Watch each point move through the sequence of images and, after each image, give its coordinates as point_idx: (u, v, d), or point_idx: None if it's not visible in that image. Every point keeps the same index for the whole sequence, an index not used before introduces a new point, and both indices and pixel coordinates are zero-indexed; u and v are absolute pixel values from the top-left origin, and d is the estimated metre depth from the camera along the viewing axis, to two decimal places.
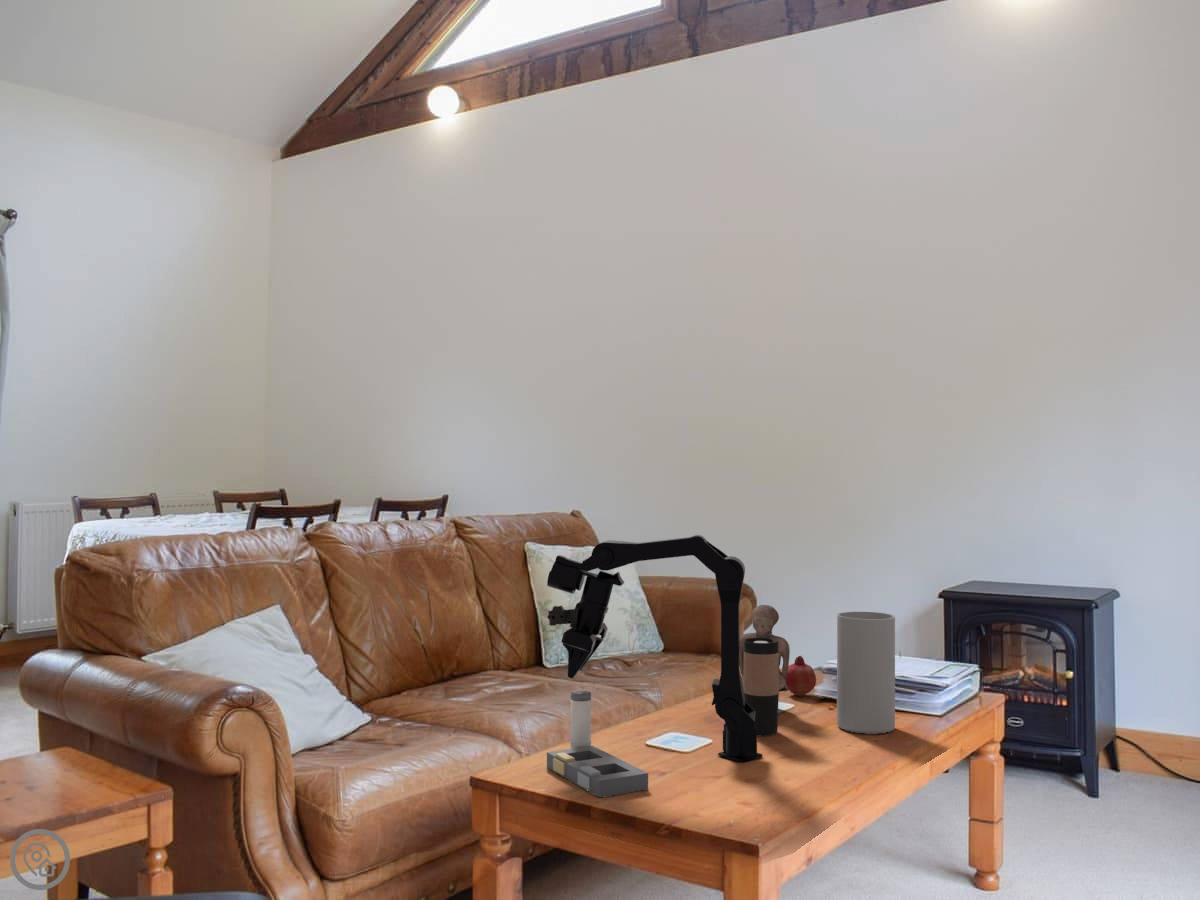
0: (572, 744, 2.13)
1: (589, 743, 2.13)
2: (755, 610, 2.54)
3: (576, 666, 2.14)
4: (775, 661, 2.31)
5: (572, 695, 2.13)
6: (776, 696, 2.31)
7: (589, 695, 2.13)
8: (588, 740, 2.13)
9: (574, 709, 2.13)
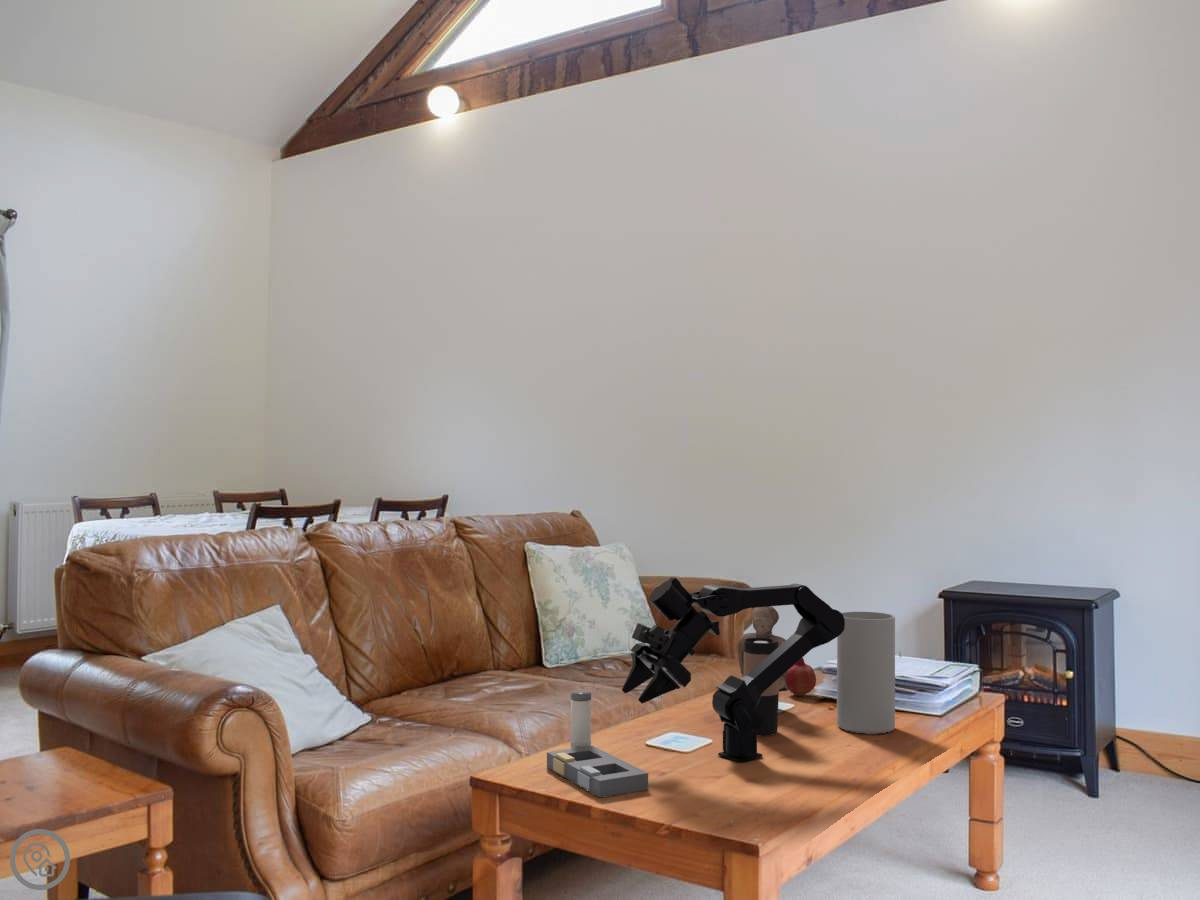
0: (572, 744, 2.13)
1: (589, 743, 2.13)
2: (755, 610, 2.54)
3: (654, 694, 2.02)
4: None
5: (572, 695, 2.13)
6: (776, 696, 2.31)
7: (589, 695, 2.13)
8: (588, 740, 2.13)
9: (574, 709, 2.13)
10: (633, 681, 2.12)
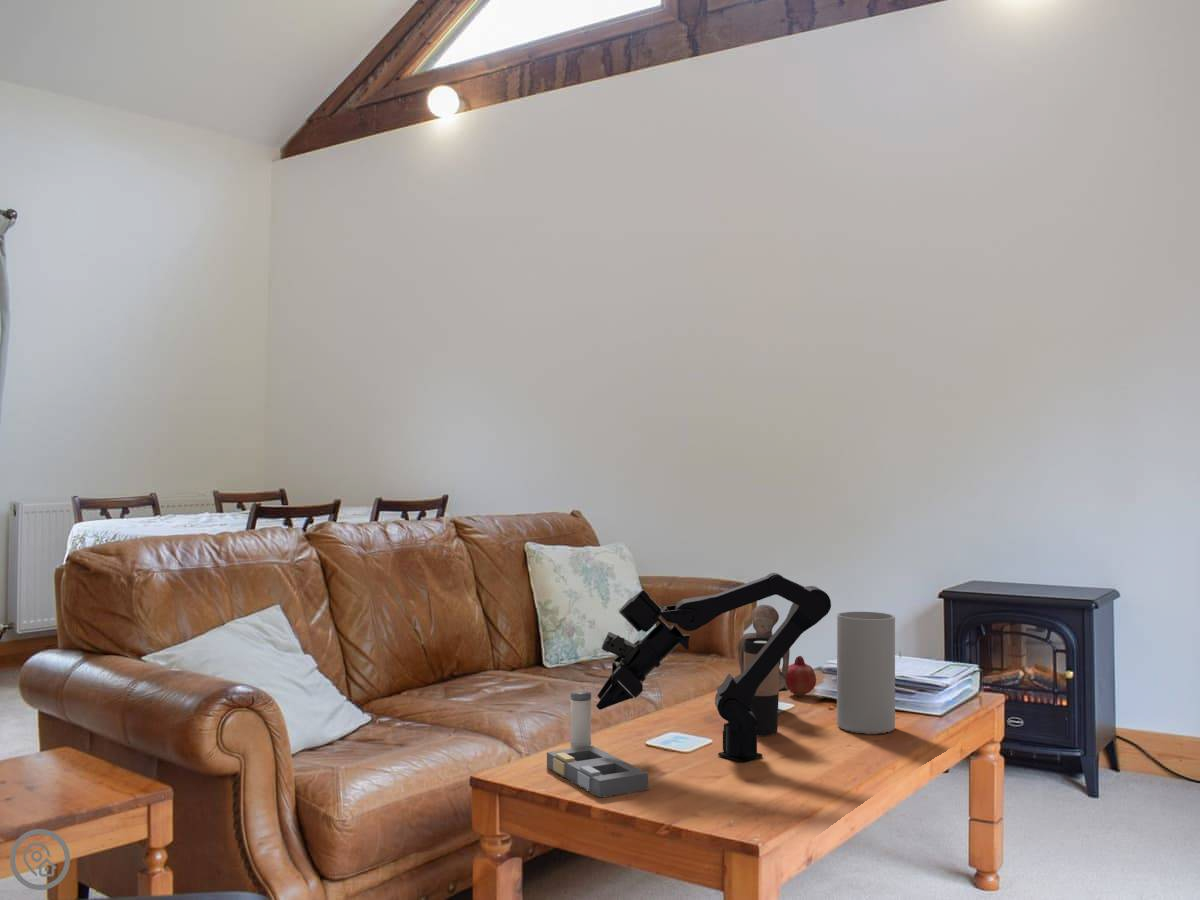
0: (572, 744, 2.13)
1: (589, 743, 2.13)
2: (755, 610, 2.54)
3: (610, 701, 2.09)
4: None
5: (572, 695, 2.13)
6: (776, 696, 2.31)
7: (589, 695, 2.14)
8: (588, 740, 2.13)
9: (574, 709, 2.13)
10: (609, 688, 2.19)
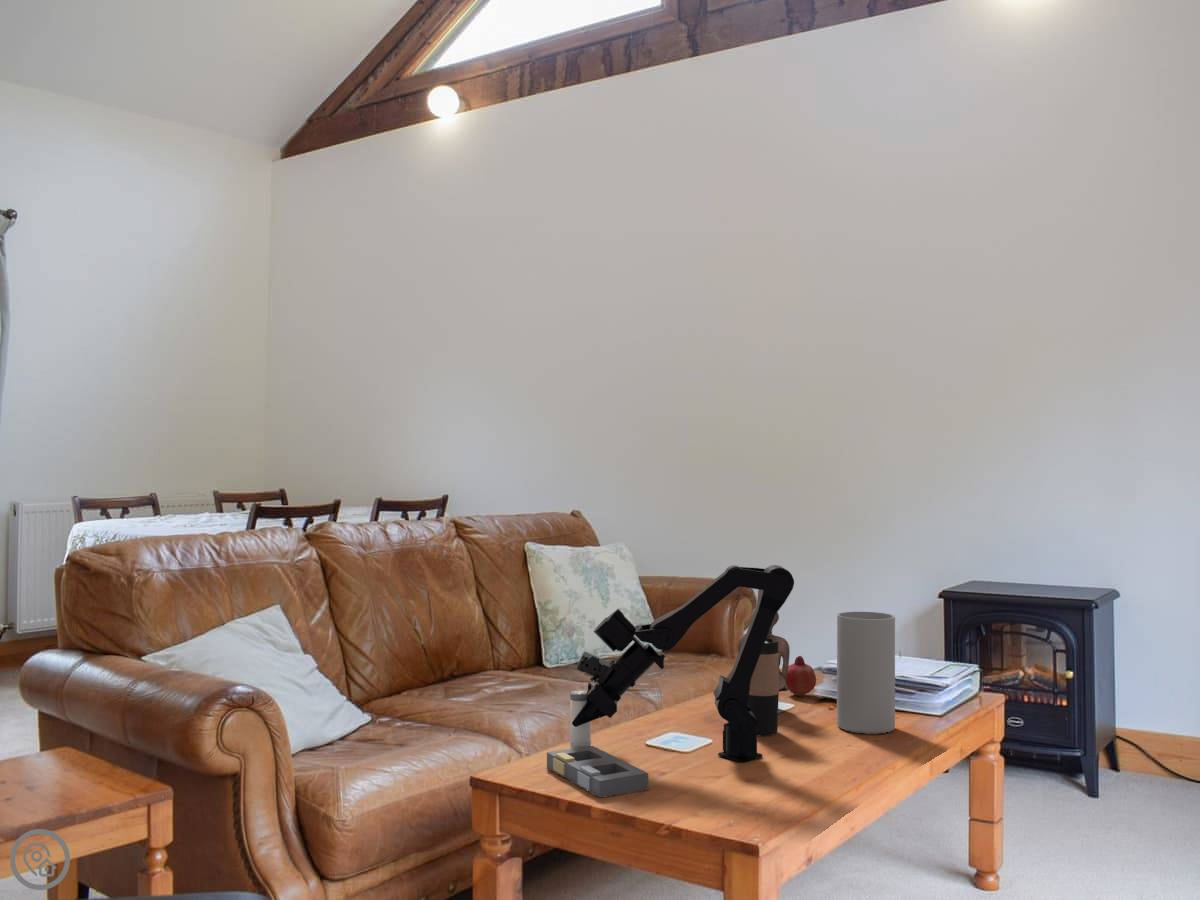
0: (572, 744, 2.13)
1: (589, 743, 2.13)
2: None
3: (585, 719, 2.11)
4: (775, 661, 2.31)
5: (571, 695, 2.13)
6: (776, 696, 2.31)
7: None
8: (588, 740, 2.13)
9: (573, 709, 2.13)
10: None
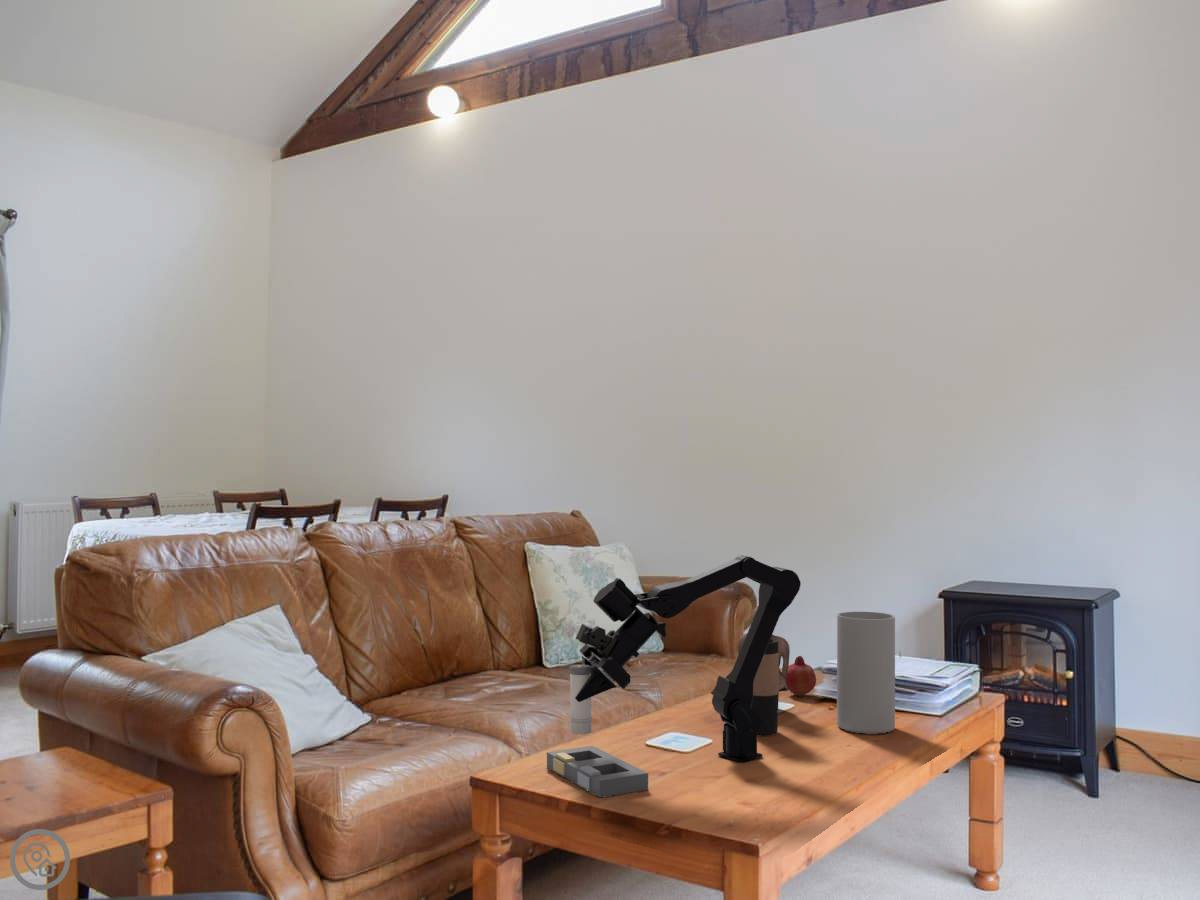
0: (574, 720, 2.04)
1: (591, 718, 2.05)
2: (755, 610, 2.54)
3: (591, 693, 2.03)
4: (775, 661, 2.31)
5: (573, 669, 2.04)
6: (776, 696, 2.31)
7: (590, 668, 2.05)
8: (590, 715, 2.05)
9: (576, 684, 2.04)
10: None
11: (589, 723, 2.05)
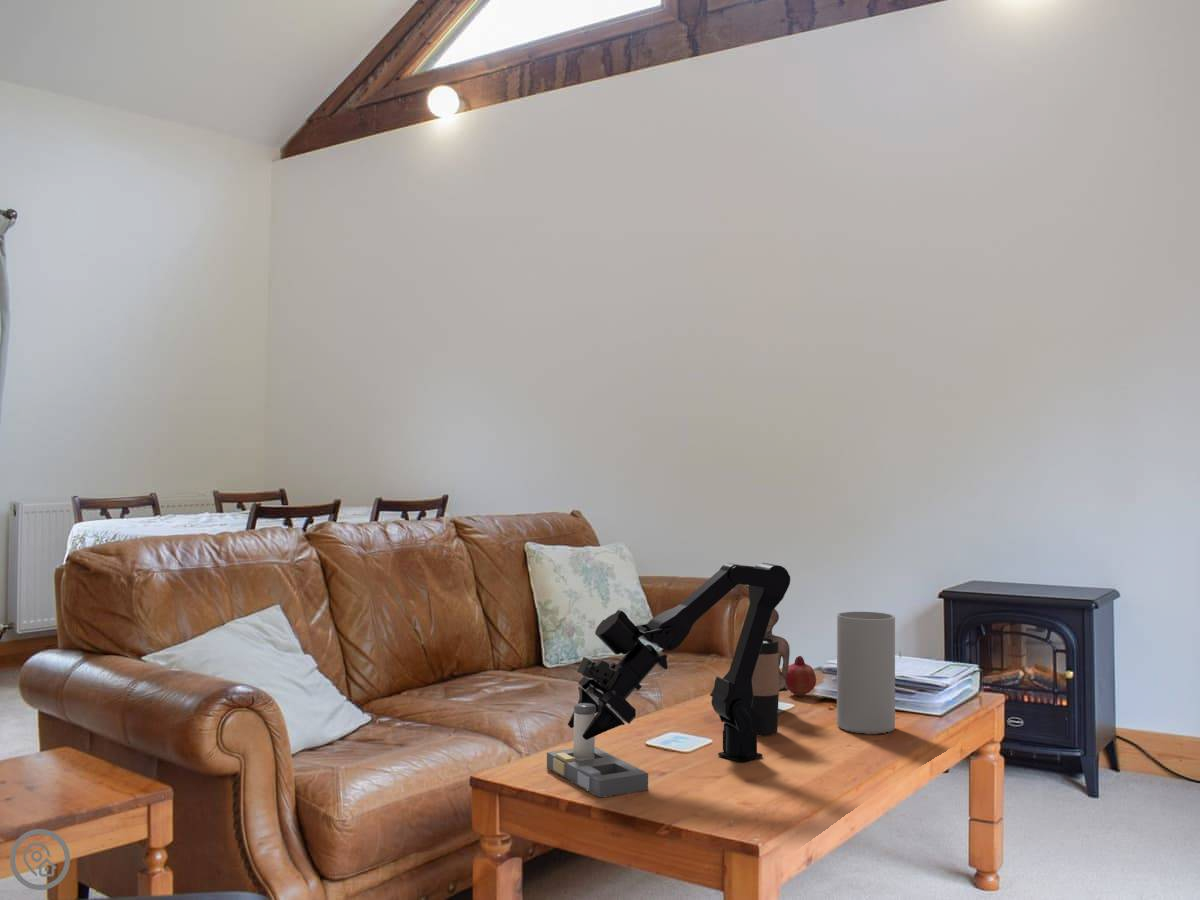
0: (577, 760, 2.02)
1: (594, 758, 2.03)
2: None
3: (598, 730, 1.98)
4: (775, 661, 2.31)
5: (578, 708, 2.02)
6: (776, 696, 2.31)
7: (595, 707, 2.03)
8: (593, 755, 2.03)
9: (580, 723, 2.01)
10: None
11: None
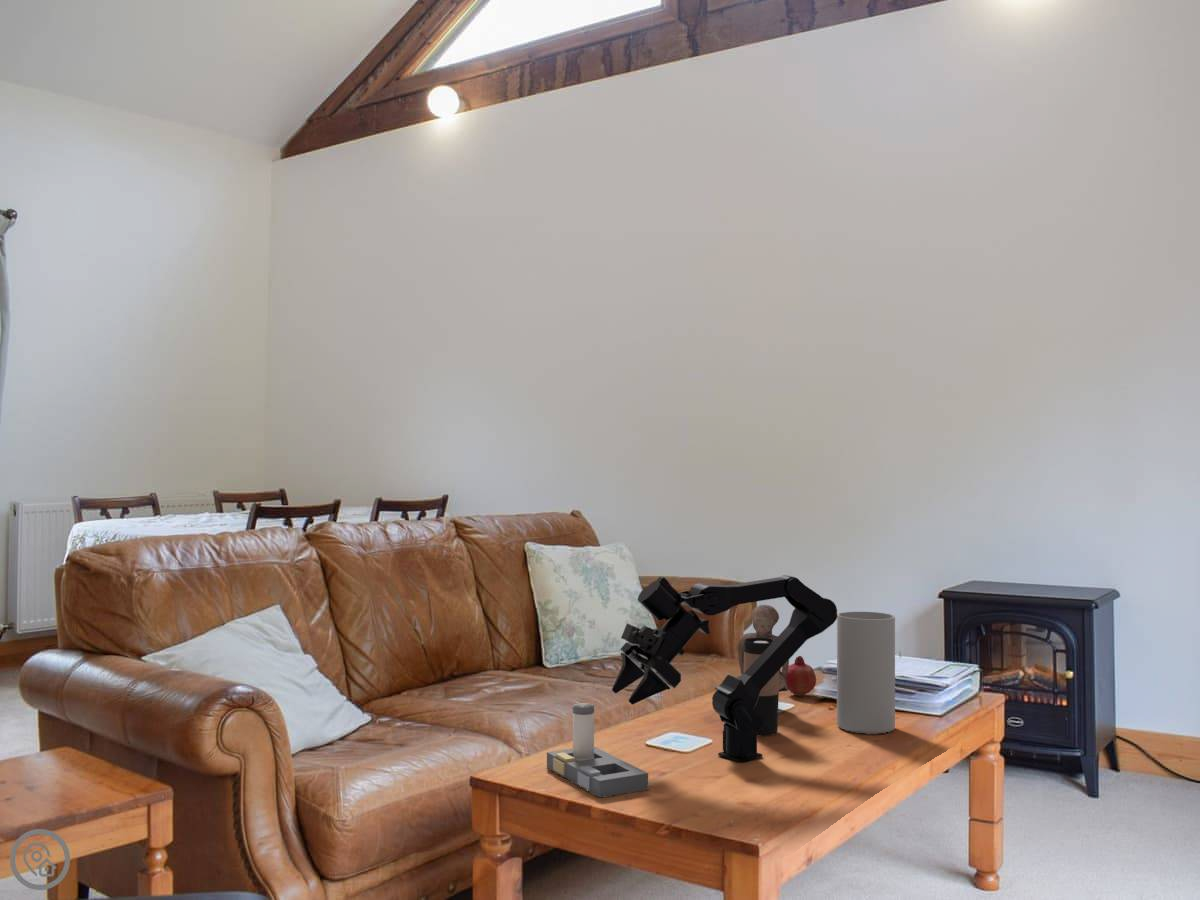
0: (577, 760, 2.02)
1: (593, 757, 2.03)
2: (755, 610, 2.54)
3: (644, 695, 2.02)
4: None
5: (577, 709, 2.02)
6: (776, 696, 2.31)
7: (593, 707, 2.03)
8: (593, 754, 2.03)
9: (579, 724, 2.01)
10: (623, 680, 2.11)
11: None
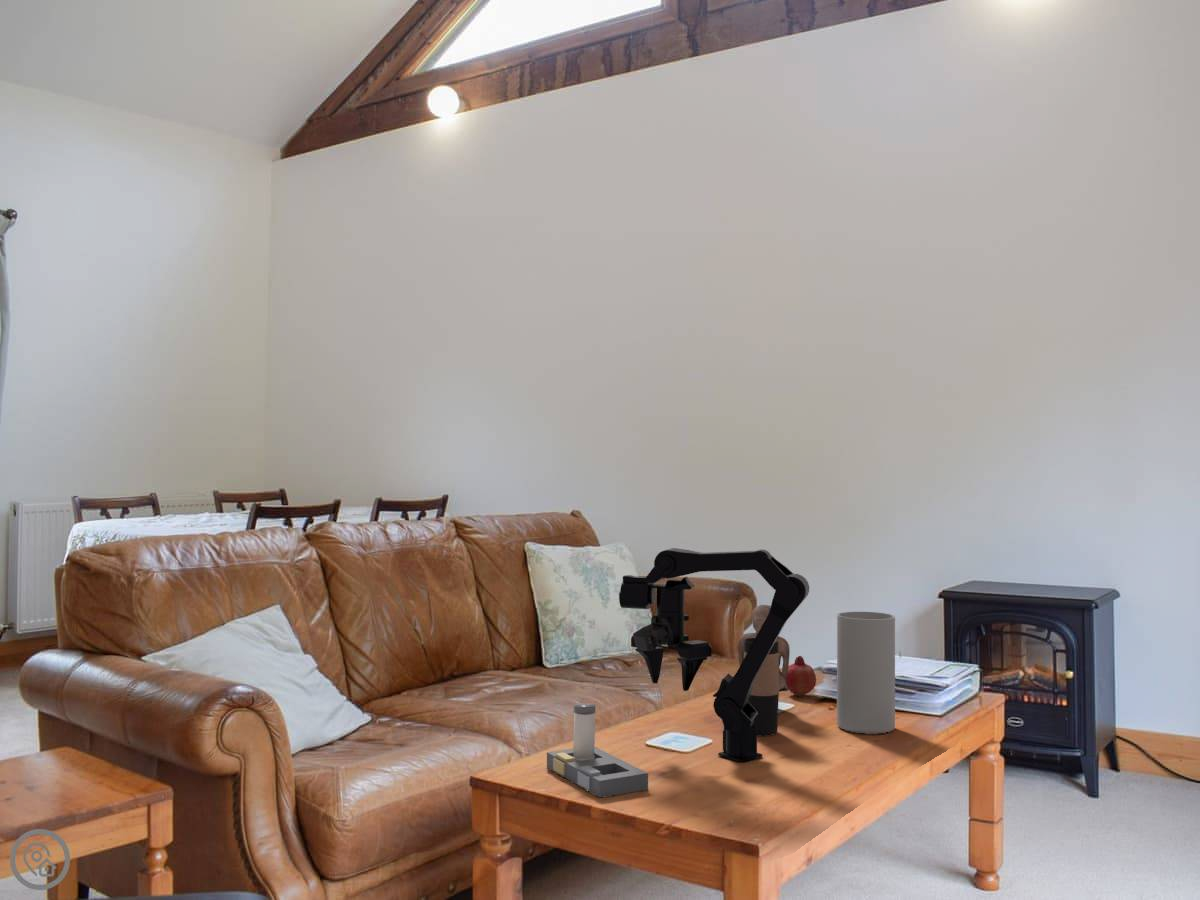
0: (577, 760, 2.02)
1: (594, 758, 2.03)
2: (755, 610, 2.54)
3: (691, 677, 2.14)
4: (775, 661, 2.31)
5: (578, 708, 2.02)
6: (776, 696, 2.31)
7: (594, 707, 2.03)
8: (593, 755, 2.03)
9: (580, 723, 2.01)
10: (655, 669, 2.22)
11: None
